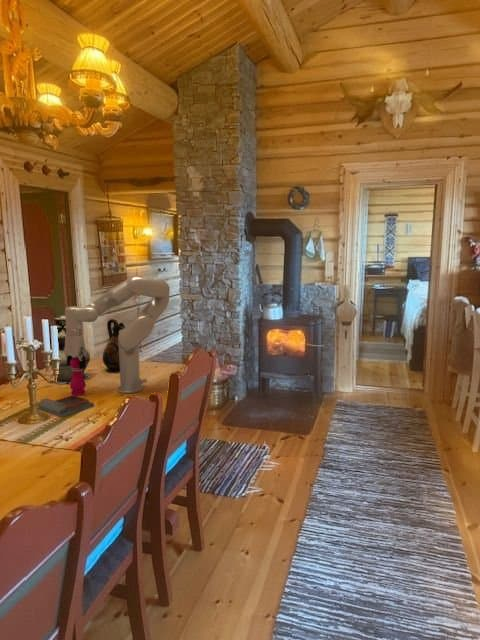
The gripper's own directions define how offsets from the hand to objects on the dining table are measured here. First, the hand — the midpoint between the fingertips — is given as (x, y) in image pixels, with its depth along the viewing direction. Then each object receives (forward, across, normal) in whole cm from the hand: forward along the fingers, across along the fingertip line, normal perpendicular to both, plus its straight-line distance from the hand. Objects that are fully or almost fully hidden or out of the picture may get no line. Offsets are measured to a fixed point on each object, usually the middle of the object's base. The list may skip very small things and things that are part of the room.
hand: (76, 366), depth 218 cm
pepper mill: (+14, 0, 0) cm, 14 cm away
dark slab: (+14, +12, -15) cm, 24 cm away
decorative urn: (+14, -26, +14) cm, 33 cm away
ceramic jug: (+14, -20, +40) cm, 47 cm away
